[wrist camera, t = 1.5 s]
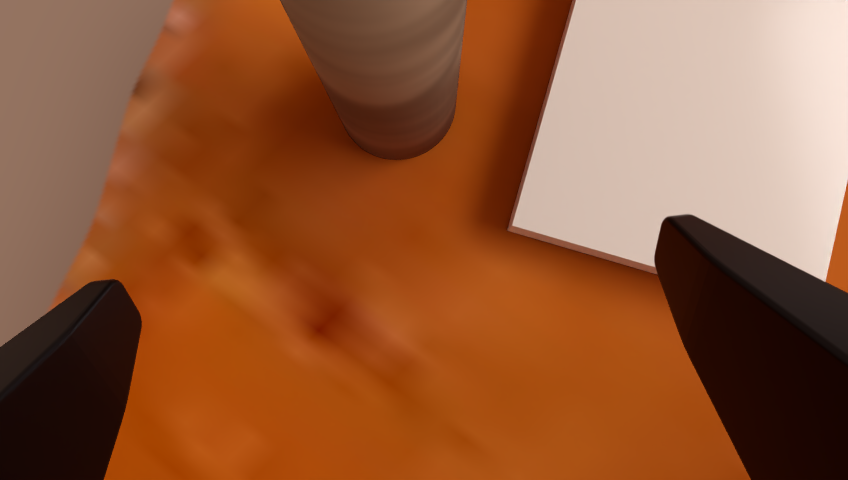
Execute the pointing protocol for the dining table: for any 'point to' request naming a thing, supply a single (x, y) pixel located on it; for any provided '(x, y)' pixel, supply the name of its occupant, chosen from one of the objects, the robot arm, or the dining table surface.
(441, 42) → the walnut roller
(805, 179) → the stone slab
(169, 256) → the dining table surface
